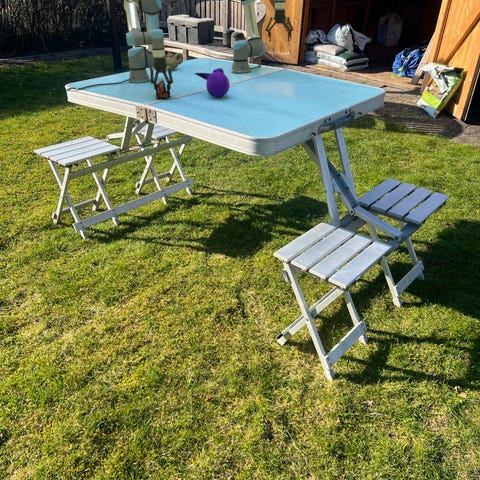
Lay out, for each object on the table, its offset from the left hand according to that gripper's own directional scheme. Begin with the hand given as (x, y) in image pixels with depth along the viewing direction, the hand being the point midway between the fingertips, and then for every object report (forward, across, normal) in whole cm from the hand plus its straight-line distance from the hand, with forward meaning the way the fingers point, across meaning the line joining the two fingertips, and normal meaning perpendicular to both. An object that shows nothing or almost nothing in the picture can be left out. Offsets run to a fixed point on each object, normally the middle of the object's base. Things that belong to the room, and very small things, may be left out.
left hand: (163, 94), depth 289 cm
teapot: (+2, +25, -98) cm, 101 cm away
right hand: (-23, -67, -75) cm, 103 cm away
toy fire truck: (+2, 0, 0) cm, 2 cm away
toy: (+2, -32, -9) cm, 33 cm away
